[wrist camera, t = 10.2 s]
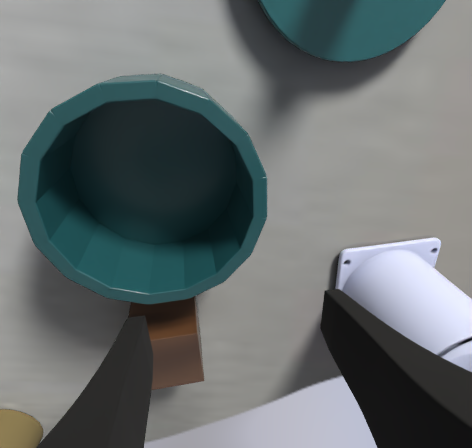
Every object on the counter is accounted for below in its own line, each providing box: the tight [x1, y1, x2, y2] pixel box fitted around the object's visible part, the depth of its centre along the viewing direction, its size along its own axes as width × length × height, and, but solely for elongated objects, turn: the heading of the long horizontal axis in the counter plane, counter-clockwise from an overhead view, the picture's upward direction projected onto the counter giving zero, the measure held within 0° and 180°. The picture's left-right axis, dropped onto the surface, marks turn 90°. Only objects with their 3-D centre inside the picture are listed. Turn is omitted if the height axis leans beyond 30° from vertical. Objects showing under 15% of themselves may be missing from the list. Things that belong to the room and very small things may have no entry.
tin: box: [17, 74, 267, 305], centre depth 17 cm, size 11×11×5 cm
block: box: [128, 296, 204, 390], centre depth 22 cm, size 4×4×4 cm
